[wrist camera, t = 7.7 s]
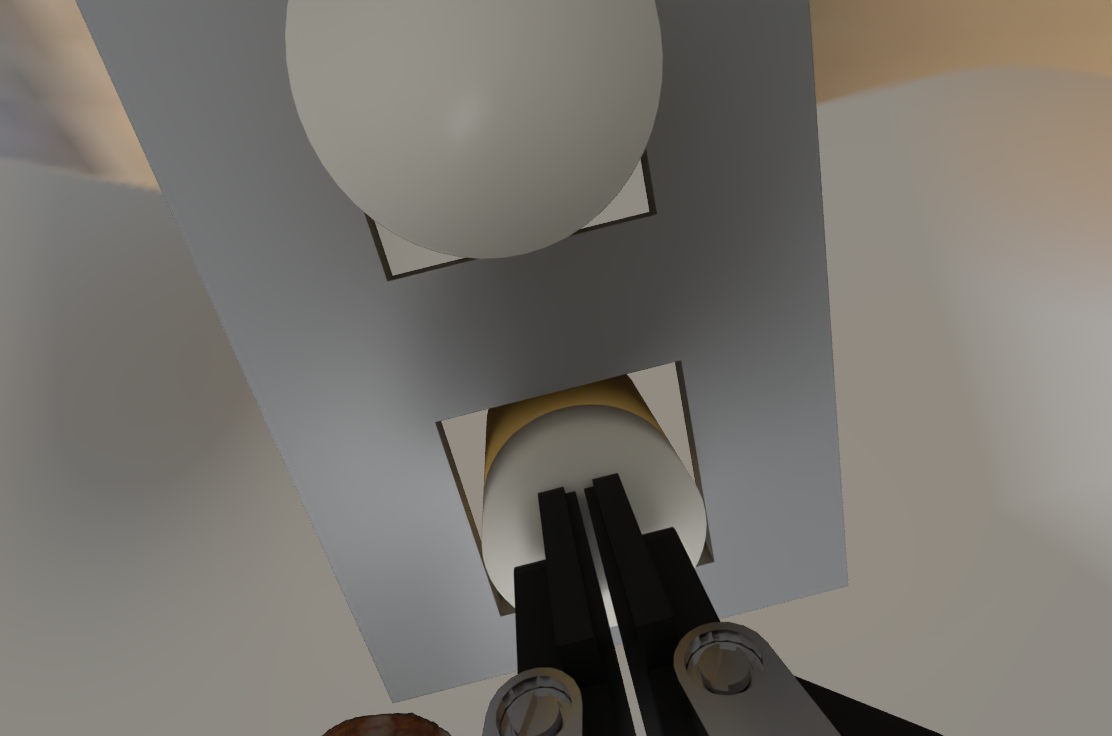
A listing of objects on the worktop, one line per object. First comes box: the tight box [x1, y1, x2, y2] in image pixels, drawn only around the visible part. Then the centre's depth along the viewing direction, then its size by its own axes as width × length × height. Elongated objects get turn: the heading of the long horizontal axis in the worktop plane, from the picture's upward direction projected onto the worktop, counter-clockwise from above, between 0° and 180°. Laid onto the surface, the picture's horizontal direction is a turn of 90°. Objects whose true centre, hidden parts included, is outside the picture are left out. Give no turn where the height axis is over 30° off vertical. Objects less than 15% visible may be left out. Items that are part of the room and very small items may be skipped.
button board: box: [76, 0, 848, 703], centre depth 12 cm, size 12×26×4 cm, turn 13°
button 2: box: [482, 374, 707, 627], centre depth 14 cm, size 5×5×6 cm
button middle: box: [285, 0, 663, 259], centre depth 10 cm, size 5×5×6 cm
